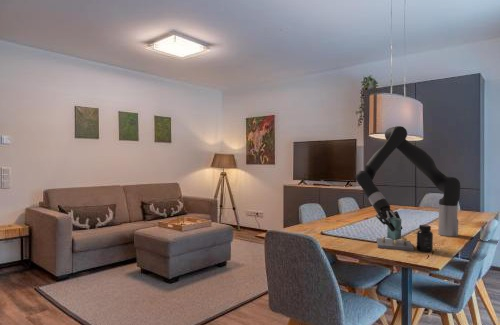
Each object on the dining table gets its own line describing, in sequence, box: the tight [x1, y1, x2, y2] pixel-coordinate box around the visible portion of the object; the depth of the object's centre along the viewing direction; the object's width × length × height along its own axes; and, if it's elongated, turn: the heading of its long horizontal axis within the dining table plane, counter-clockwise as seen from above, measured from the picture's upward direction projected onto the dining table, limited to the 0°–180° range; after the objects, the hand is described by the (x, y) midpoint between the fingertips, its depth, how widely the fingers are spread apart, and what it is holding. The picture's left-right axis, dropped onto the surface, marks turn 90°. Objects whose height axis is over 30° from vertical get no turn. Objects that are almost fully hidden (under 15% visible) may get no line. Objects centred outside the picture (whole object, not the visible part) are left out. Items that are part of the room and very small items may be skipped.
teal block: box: [386, 217, 402, 240], centre depth 172 cm, size 4×4×10 cm
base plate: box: [376, 236, 415, 252], centre depth 172 cm, size 16×14×4 cm
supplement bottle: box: [416, 224, 434, 253], centre depth 163 cm, size 7×7×12 cm
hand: (397, 229), depth 170 cm, fingers closed on teal block, 4 cm apart
